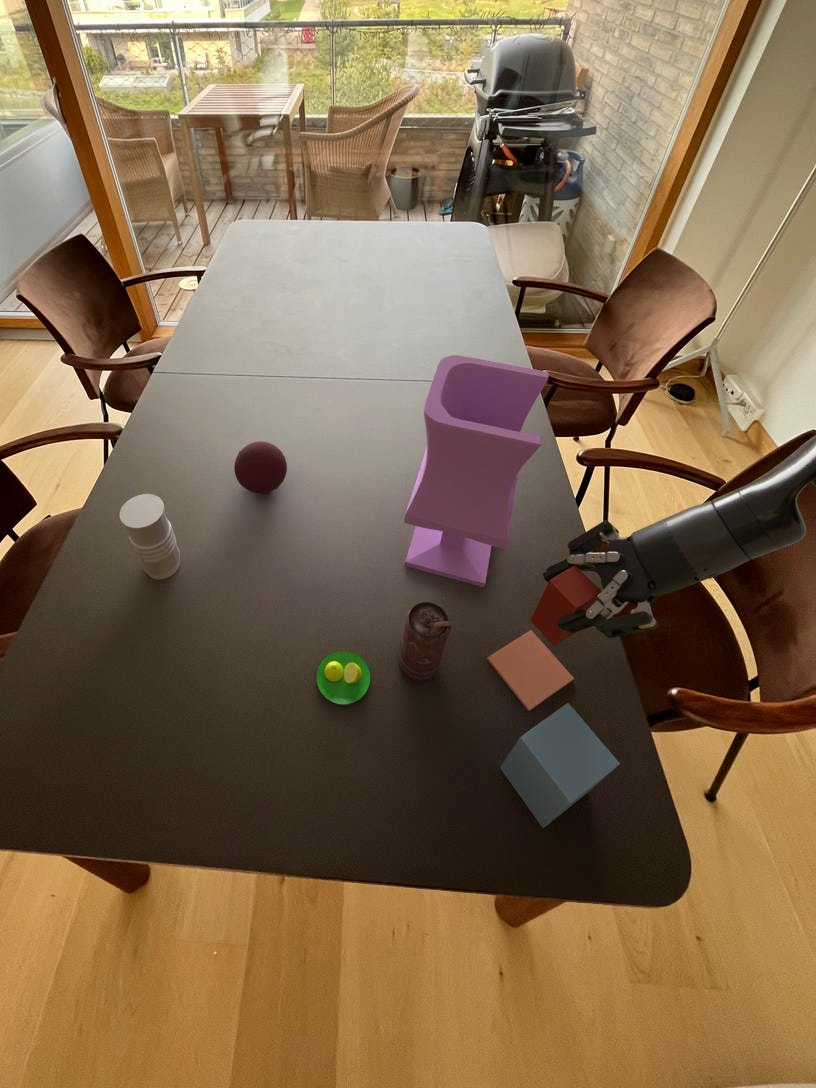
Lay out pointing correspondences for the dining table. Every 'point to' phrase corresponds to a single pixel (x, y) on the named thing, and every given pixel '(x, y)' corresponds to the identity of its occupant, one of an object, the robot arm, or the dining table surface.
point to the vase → (470, 464)
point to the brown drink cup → (423, 642)
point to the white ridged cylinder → (151, 535)
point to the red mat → (530, 670)
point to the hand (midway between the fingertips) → (553, 601)
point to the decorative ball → (260, 467)
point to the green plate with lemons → (343, 677)
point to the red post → (563, 602)
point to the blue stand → (557, 764)
